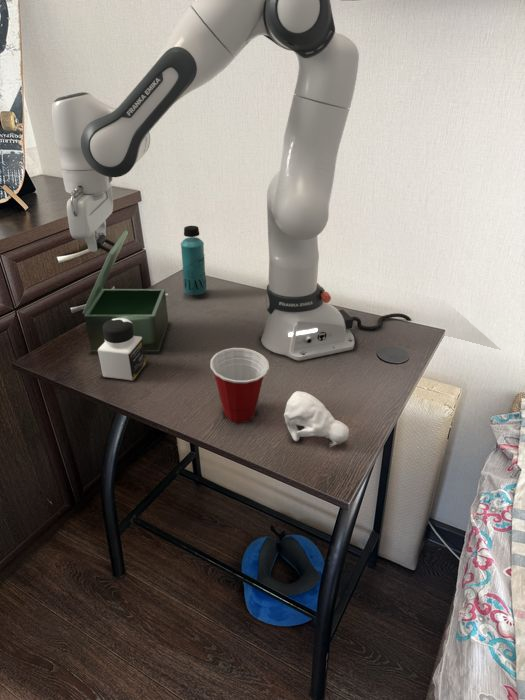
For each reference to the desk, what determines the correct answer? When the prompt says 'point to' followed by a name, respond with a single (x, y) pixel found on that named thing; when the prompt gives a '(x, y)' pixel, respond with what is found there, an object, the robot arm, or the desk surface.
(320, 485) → the desk surface
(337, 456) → the desk surface
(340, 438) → the white figurine
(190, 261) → the beverage bottle
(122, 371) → the medicine bottle
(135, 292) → the green open box
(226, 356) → the plastic cup
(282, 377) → the desk surface
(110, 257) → the lid
